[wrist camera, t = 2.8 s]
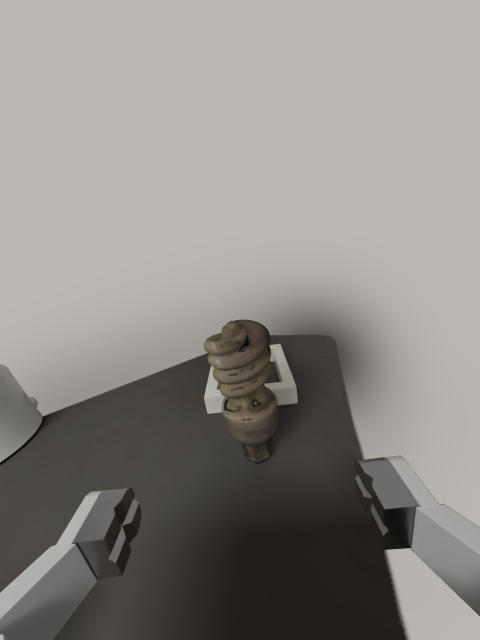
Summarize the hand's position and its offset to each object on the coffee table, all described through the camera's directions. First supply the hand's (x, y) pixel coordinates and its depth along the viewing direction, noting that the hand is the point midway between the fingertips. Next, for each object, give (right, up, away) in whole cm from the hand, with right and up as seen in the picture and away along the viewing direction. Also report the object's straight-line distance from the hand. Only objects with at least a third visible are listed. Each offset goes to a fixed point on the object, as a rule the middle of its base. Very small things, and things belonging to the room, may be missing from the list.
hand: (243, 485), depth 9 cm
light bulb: (+2, -8, +16) cm, 18 cm away
